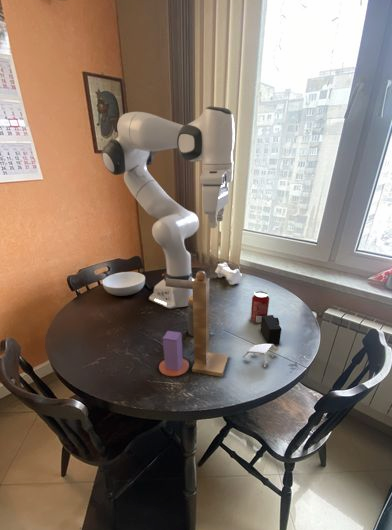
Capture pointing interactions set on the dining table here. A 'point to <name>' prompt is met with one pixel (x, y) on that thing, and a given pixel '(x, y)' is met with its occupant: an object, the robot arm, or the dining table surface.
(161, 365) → the coaster
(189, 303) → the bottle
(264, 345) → the white small piece
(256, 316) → the soda can
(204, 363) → the cup stand
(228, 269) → the bone shaped toy
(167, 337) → the purple block
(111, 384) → the dining table surface
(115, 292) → the serving bowl
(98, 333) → the dining table surface
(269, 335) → the digital camera
